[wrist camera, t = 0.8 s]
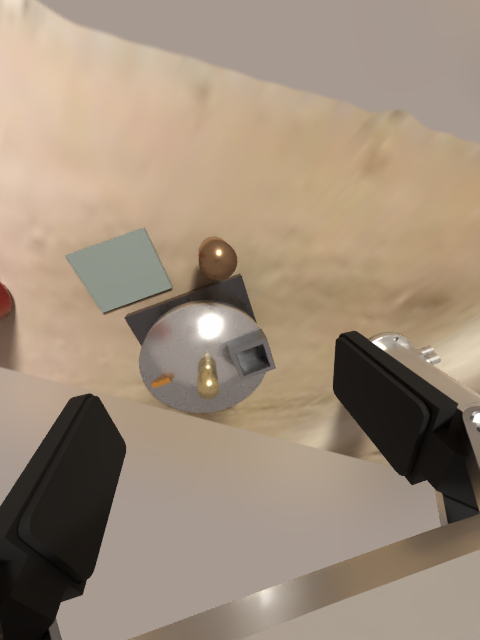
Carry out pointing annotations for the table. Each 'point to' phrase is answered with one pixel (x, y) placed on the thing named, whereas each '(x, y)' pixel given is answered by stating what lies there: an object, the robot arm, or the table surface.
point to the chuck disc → (204, 356)
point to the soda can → (4, 302)
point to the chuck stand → (220, 291)
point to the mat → (120, 270)
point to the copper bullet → (217, 258)
